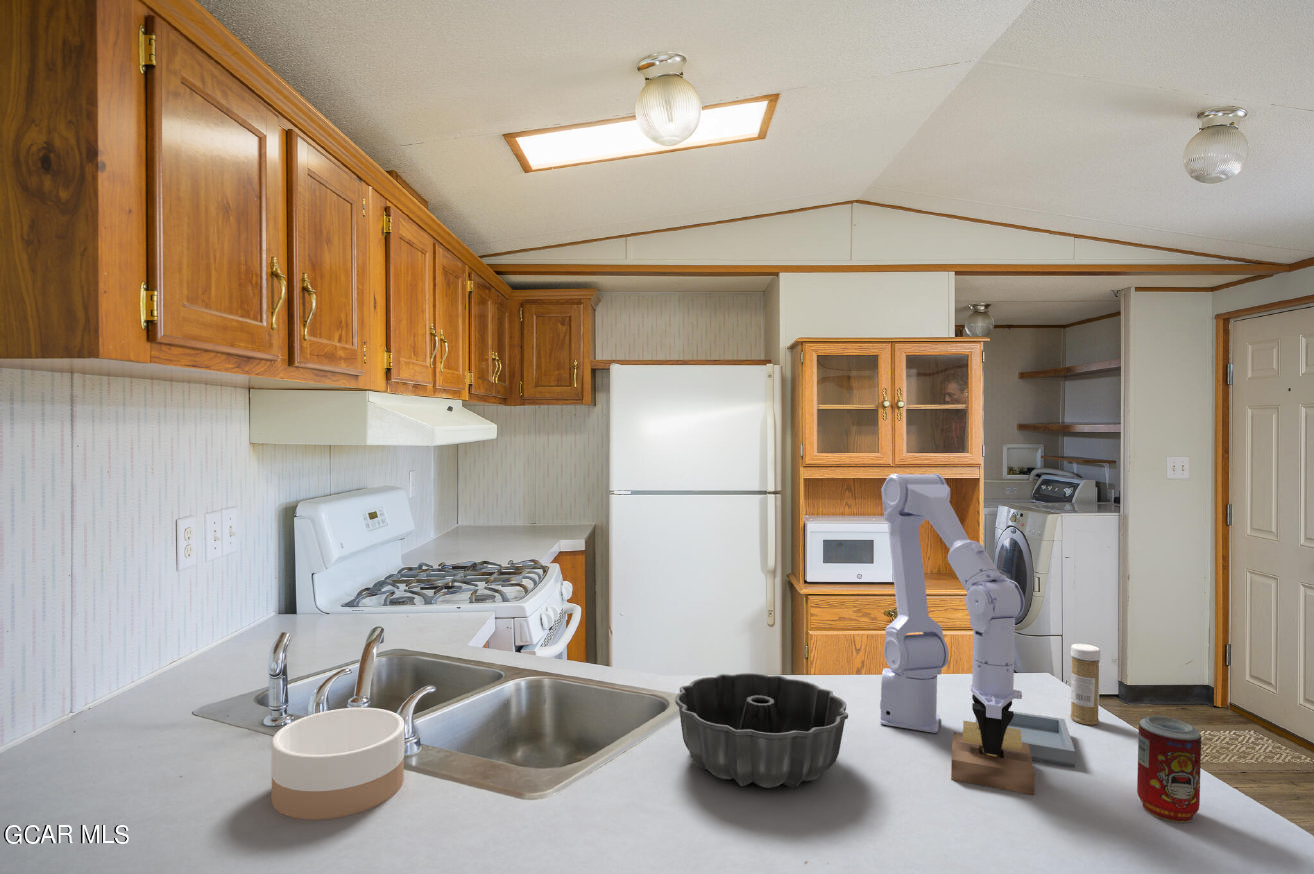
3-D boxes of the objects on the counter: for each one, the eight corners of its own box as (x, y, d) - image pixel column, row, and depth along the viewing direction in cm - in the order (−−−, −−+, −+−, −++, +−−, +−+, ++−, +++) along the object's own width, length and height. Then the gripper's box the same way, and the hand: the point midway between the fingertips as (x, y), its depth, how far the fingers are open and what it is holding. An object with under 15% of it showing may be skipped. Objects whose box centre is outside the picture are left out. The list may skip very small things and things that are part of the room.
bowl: (428, 772, 110) (429, 716, 109) (344, 831, 93) (345, 765, 93) (335, 754, 115) (336, 700, 115) (241, 806, 99) (241, 744, 99)
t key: (962, 770, 113) (963, 727, 113) (962, 762, 115) (963, 720, 115) (1020, 780, 109) (1021, 736, 109) (1019, 772, 112) (1020, 729, 112)
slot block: (951, 779, 109) (951, 759, 109) (952, 750, 120) (953, 731, 120) (1034, 795, 105) (1034, 774, 105) (1028, 763, 115) (1028, 744, 115)
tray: (976, 750, 120) (976, 735, 120) (975, 719, 132) (975, 705, 132) (1074, 767, 114) (1075, 751, 114) (1064, 733, 127) (1064, 719, 127)
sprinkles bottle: (1103, 722, 132) (1105, 647, 132) (1090, 727, 130) (1092, 651, 129) (1077, 714, 136) (1079, 641, 136) (1064, 719, 133) (1066, 645, 133)
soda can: (1159, 825, 97) (1161, 733, 97) (1125, 798, 104) (1127, 712, 104) (1212, 826, 97) (1215, 734, 97) (1175, 799, 104) (1177, 713, 104)
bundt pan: (746, 716, 133) (746, 660, 133) (879, 765, 114) (881, 701, 114) (639, 760, 114) (640, 696, 114) (777, 828, 96) (779, 751, 95)
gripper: (1025, 678, 104) (1023, 774, 104) (1019, 650, 117) (1017, 735, 117) (971, 671, 107) (969, 764, 107) (971, 644, 120) (969, 727, 120)
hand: (991, 748), depth 112 cm, fingers closed on t key, 3 cm apart
